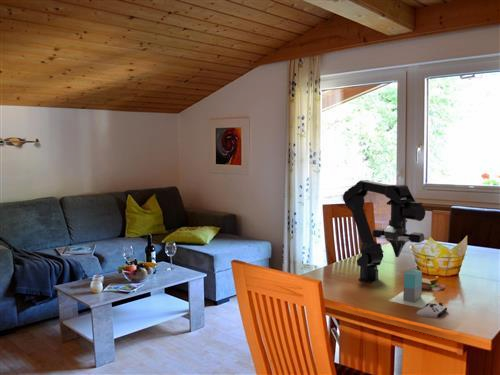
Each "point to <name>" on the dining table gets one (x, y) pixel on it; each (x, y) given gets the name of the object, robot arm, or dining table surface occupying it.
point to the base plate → (419, 303)
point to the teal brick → (412, 278)
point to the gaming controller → (432, 310)
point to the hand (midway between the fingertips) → (397, 256)
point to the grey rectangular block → (412, 294)
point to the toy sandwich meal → (431, 285)
